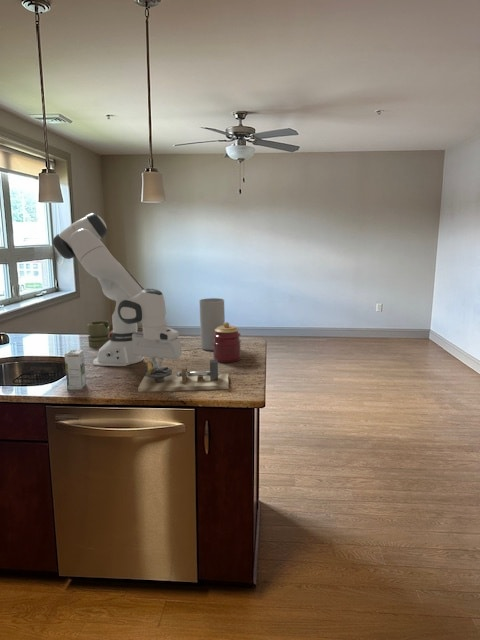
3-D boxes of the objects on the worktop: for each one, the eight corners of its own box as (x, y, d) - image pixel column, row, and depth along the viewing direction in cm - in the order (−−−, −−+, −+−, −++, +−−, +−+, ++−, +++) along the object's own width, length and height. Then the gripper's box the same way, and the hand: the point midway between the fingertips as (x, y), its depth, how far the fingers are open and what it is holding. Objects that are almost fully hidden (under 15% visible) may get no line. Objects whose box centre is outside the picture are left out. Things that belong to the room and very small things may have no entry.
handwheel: (141, 377, 164) (140, 362, 163) (152, 369, 173) (151, 355, 172) (166, 378, 162) (165, 363, 161) (175, 370, 171) (174, 355, 170)
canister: (219, 364, 193) (218, 326, 190) (209, 357, 205) (208, 321, 202) (245, 360, 198) (244, 323, 195) (234, 353, 210) (233, 318, 207)
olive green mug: (112, 320, 236) (103, 325, 225) (114, 342, 238) (105, 347, 227) (93, 320, 237) (83, 324, 226) (94, 341, 240) (85, 346, 229)
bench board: (138, 391, 161) (137, 381, 160) (144, 379, 175) (144, 369, 174) (228, 388, 163) (228, 378, 162) (228, 376, 176) (227, 367, 176)
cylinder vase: (216, 352, 214) (214, 302, 209) (196, 349, 220) (194, 301, 215) (229, 346, 224) (228, 299, 219) (210, 343, 231) (209, 297, 226)
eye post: (182, 383, 165) (181, 369, 164) (184, 377, 172) (183, 363, 171) (186, 383, 165) (185, 369, 164) (187, 377, 172) (186, 363, 171)
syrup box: (71, 385, 170) (68, 349, 167) (86, 384, 170) (83, 349, 167) (67, 390, 164) (63, 353, 161) (82, 389, 165) (79, 353, 162)
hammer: (176, 381, 166) (175, 363, 165) (177, 378, 170) (176, 360, 169) (220, 380, 167) (219, 362, 166) (220, 376, 171) (219, 359, 170)
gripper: (126, 332, 161) (129, 367, 164) (173, 336, 153) (175, 373, 156) (136, 329, 167) (139, 363, 170) (182, 332, 159) (184, 368, 162)
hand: (157, 368), depth 163 cm, fingers closed
